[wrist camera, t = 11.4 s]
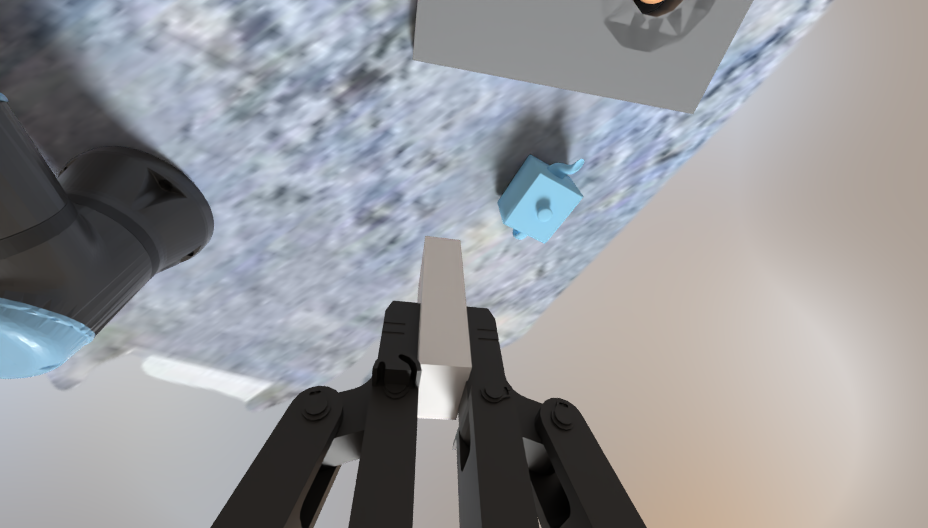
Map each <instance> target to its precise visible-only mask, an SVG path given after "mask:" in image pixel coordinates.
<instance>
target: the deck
mask: <svg viewBox="0 0 928 528" xmlns="http://www.w3.org/2000/svg"><path fill="white" fill-rule="evenodd" d="M752 2H753V0H666V1H665V2H664V3H663V4H662V5H661V6H660V7H659V8H658V9H657V10H655V11H652V12H650V13H647V14H642V13H641V11H640V10H639V9H638V7H637V6H636V4H635V3H634V1H633V0H418V2H417V13H416V25H415V37H414V49H413V60H416V61H421V62H426V63H431V64H437V65H442V66H447V67H452V68H457V69H463V70H468V71H473V72H478V73H483V74H488V75H494V76H499V77H504V78H509V79H514V80H520V81H525V82H530V83H535V84H540V85H545V86H551V87H556V88H561V89H566V90H571V91H577V92H582V93H587V94H592V95H597V96H602V97H608V98H613V99H618V100H623V101H628V102H633V103H639V104H644V105H649V106H654V107H659V108H665V109H670V110H675V111H680V112H685V113H690V114H693V113H694V111H695V110H696V108H697V106H698V104H699V102H700V100H701V98H702V96H703V94H704V93H705V91H706V89H707V87H708V85H709V83H710V81H711V79H712V77H713V76H714V74H715V72H716V70H717V68H718V66H719V64H720V62H721V60H722V59H723V57H724V55H725V53H726V51H727V49H728V47H729V45H730V43H731V41H732V40H733V38H734V36H735V34H736V32H737V30H738V28H739V26H740V24H741V23H742V21H743V19H744V17H745V15H746V13H747V11H748V9H749V7H750V6H751V4H752Z"/></svg>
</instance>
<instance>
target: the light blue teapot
mask: <svg viewBox="0 0 928 528" xmlns="http://www.w3.org/2000/svg"><path fill="white" fill-rule="evenodd" d="M583 164H584V159H580V160H578V161H577V162H575V163H574V164H572V165H567V164H564V163H554V164H552V165H548V164H546V163H545V162H543V161H541V160H539V159H538V158H536V157H534V156H532V155H531V154H530V155H529V156H528V158H527V159H526V160H525V162H524V163H523V165H522V166H521V168H520V169H519V171H518V172H517V174H516V175H515V177H514V178H513V180H512V181H511V183H510V184H509V186H508V187H507V189H506V190H505V192H504V193H503V195H502V196H501V198H500V199H499V201H498V206H499V210H500V213H501V217H502V220H503V224H505V225H507V226H509V227H511V228H513V236H514V237H515V238H516V239H524V238H525V237H526V236H527V235H528V236H530V237H532V238H534V239H536V240H538V241H540V242H542V243H544V244H545V243H546V242H547V241H548V240H549V238H550V237H551V236H552V235H553V234H554V232H555V231H556V230H557V229H558V228H559V226H560V225H561V224H562V223H563V222H564V220H565V219H566V218H567V217H568V215H569V214H570V213H571V212H572V210H573V209H574V208H575V207H576V205H577V204H578V203H579V202H580V200H581V199H582V198H583V195H582V194H581V192H580V191H579V190H578V188H577V187H576V185H575V184H574V183H573V181H572V180H571V178H570V177H569V176H567V175H568V174H573V173H575V172H577V171H578V170H579V169H580V168H581V167H582V165H583Z"/></svg>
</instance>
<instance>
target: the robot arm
mask: <svg viewBox="0 0 928 528" xmlns="http://www.w3.org/2000/svg"><path fill="white" fill-rule="evenodd" d="M8 101H9V100H8V99H7V97H6V96H5V95H3V94H2V93H0V379H14V378H26V377H32V376H37V375H41V374H44V373H47V372H50V371H52V370H54V369H56V368H58V367H59V366H61V365H62V364H63V363H65V362H66V361H67V360H68V359H69V358H70V357H71V356H73V355H74V354H75V353H76V352H77V351H78V350H79V349H80V348H82V347H83V346H84V345H86V344H89V343H90V342H91V341H92V340H93V338H95V336H96V335H97V334H98V333H99V332H100V331H101V330H102V329H103V328H104V326H105V325H106V324H107V323H108V322H109V321H110V320H111V319H112V318H113V317H114V316H115V315H116V314H117V313H118V312H119V311H120V310H121V309H122V308H123V307H124V306H125V305H126V304H127V303H128V302H129V301H130V300H131V299H132V298H133V296H134V295H135V294H136V293H137V292H138V291H139V290H140V289H141V288H142V287H143V286H144V285H145V284H146V283H147V282H148V281H149V280H150V279H151V278H152V277H153V276H154V275H155V274H157V273H159V272H161V271H164V270H166V269H168V268H170V267H173V266H175V265H177V264H179V263H181V262H184V261H186V260H188V259H190V258H192V257H194V256H195V255H196V254H198V253H199V252H200V251H201V250H202V249H203V248H204V247H205V246H206V244H207V243H208V242H209V241H210V239H211V237H212V234H213V230H214V220H213V215H212V211H211V209H210V206H209V204H208V202H207V201H206V199H205V197H204V196H203V194H202V193H201V192H200V190H199V189H198V188H197V187H196V186H195V184H194V183H193V182H192V181H191V180H190V179H188V178H187V177H186V176H185V175H184V174H183V173H181V172H180V171H179V170H177V169H176V168H175V167H173V166H171V165H170V164H168V163H167V162H165V161H163V160H161V159H159V158H157V157H155V156H153V155H150V154H148V153H145V152H142V151H139V150H135V149H131V148H126V147H118V146H106V147H99V148H95V149H92V150H89V151H87V152H85V153H83V154H81V155H78V156H77V157H75V158H73V159H72V160H70V161H69V162H68V163H67V164H66V165H65V166H64V168H63V169H62V171H61V172H60V174H59V176H58V178H56V177H55V175H54V174H53V172H52V171H51V169H50V168H49V166H48V165H47V163H46V162H45V160H44V159H43V157H42V156H41V154H40V153H39V151H38V150H37V148H36V146H35V145H34V143H33V142H32V140H31V139H30V137H29V136H28V134H27V133H26V131H25V130H24V128H23V127H22V125H21V124H20V122H19V121H18V119H17V118H16V116H15V115H14V113H13V111H12V110H11V108H10V107H9V105H8V104H7V102H8ZM498 340H499V339H498V333H497V327H496V322H495V318H494V317H493V315H492V314H491V312H490V311H489V309H487V308H476V307H466V297H465V286H464V275H463V263H462V252H461V241H460V240H455V239H447V238H438V237H430V236H425V243H424V250H423V257H422V264H421V272H420V279H419V288H418V303H413V302H402V301H393V302H392V303H391V304H390V305H389V307H388V308H387V309H386V311H385V317H384V324H383V329H382V336H381V342H380V348H379V354H378V359H377V360H376V361H375V364H374V366H373V371H372V377H371V379H370V380H369V381H368V382H366V383H365V384H363V385H362V386H360V387H357V388H355V389H351V390H347V391H343V392H339V393H338V392H337V391H336V390H334V389H332V388H330V387H326V386H316V387H312V388H308V389H306V390H305V391H303V392H301V393H299V395H298V396H297V397H296V398H295V399H294V400H293V401H292V403H291V404H290V406H289V407H288V409H287V410H286V412H285V413H284V415H283V417H282V418H281V420H280V421H279V423H278V424H277V426H276V427H275V429H274V430H273V432H272V433H271V435H270V437H269V438H268V440H267V441H266V443H265V444H264V446H263V448H262V449H261V450H260V452H259V454H258V455H257V457H256V458H255V460H254V461H253V463H252V464H251V466H250V467H249V469H248V471H247V472H246V474H245V475H244V477H243V478H242V480H241V481H240V483H239V484H238V486H237V488H236V489H235V491H234V492H233V494H232V495H231V497H230V498H229V500H228V501H227V503H226V505H225V506H224V508H223V509H222V511H221V512H220V514H219V515H218V517H217V519H216V520H215V521H214V523H213V525H212V526H211V528H313V527H314V525H315V523H316V521H317V518H318V516H319V514H320V512H321V510H322V507H323V505H324V503H325V501H326V498H327V496H328V494H329V492H330V489H331V487H332V485H333V483H334V480H335V478H336V476H337V474H338V471H339V469H340V467H341V465H342V464H344V463H347V462H350V461H353V460H356V459H359V458H360V461H359V467H358V473H357V479H356V486H355V491H354V497H353V503H352V509H351V515H350V521H349V527H348V528H412V525H413V503H414V480H415V459H416V458H415V457H416V436H417V418H429V419H452V420H456V418H457V415H459V428H458V430H457V434H456V437H455V440H454V443H453V450H456V448H457V466H458V467H457V468H458V493H459V494H458V495H459V521H460V528H539V523H538V519H539V522H540V525H541V527H542V528H647V527H646V526H645V524H644V522H643V520H642V519H641V517H640V515H639V513H638V512H637V510H636V508H635V506H634V505H633V503H632V501H631V500H630V498H629V496H628V494H627V493H626V491H625V489H624V488H623V486H622V484H621V482H620V480H619V479H618V477H617V475H616V473H615V472H614V470H613V468H612V466H611V465H610V463H609V461H608V460H607V458H606V456H605V455H604V453H603V451H602V449H601V447H600V446H599V444H598V442H597V440H596V439H595V437H594V435H593V433H592V432H591V430H590V428H589V426H588V425H587V423H586V421H585V420H584V418H583V416H582V415H581V413H580V412H579V410H578V409H577V408H576V407H575V406H574V405H573V404H571V403H570V402H568V401H566V400H563V399H561V398H550V399H548V400H546V401H545V402H544V403H543V404H542V403H539V402H536V401H534V400H531V399H528V398H526V397H524V396H521V395H520V394H518V393H517V392H516V391H514V390H513V389H512V387H511V386H510V385H509V383H508V382H507V380H506V377H505V373H504V367H503V362H502V356H501V350H500V345H499V342H498ZM537 517H538V518H537Z"/></svg>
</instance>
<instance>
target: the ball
mask: <svg viewBox="0 0 928 528" xmlns="http://www.w3.org/2000/svg"><path fill="white" fill-rule="evenodd" d="M640 1H642V2H644V3H647V4H655V3H659V2H661V1H663V0H640Z"/></svg>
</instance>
